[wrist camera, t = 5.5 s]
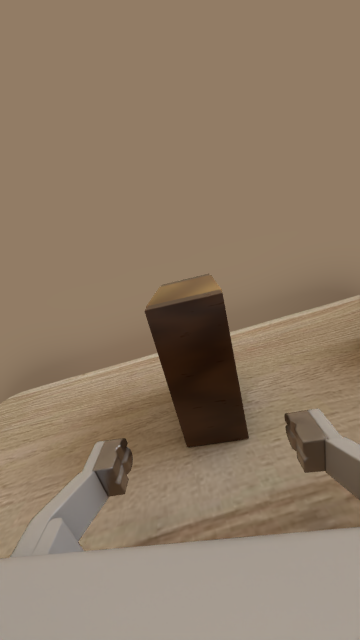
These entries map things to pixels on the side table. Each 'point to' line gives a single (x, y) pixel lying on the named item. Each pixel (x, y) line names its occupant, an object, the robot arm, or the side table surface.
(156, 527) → the side table surface
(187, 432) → the block
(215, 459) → the side table surface
